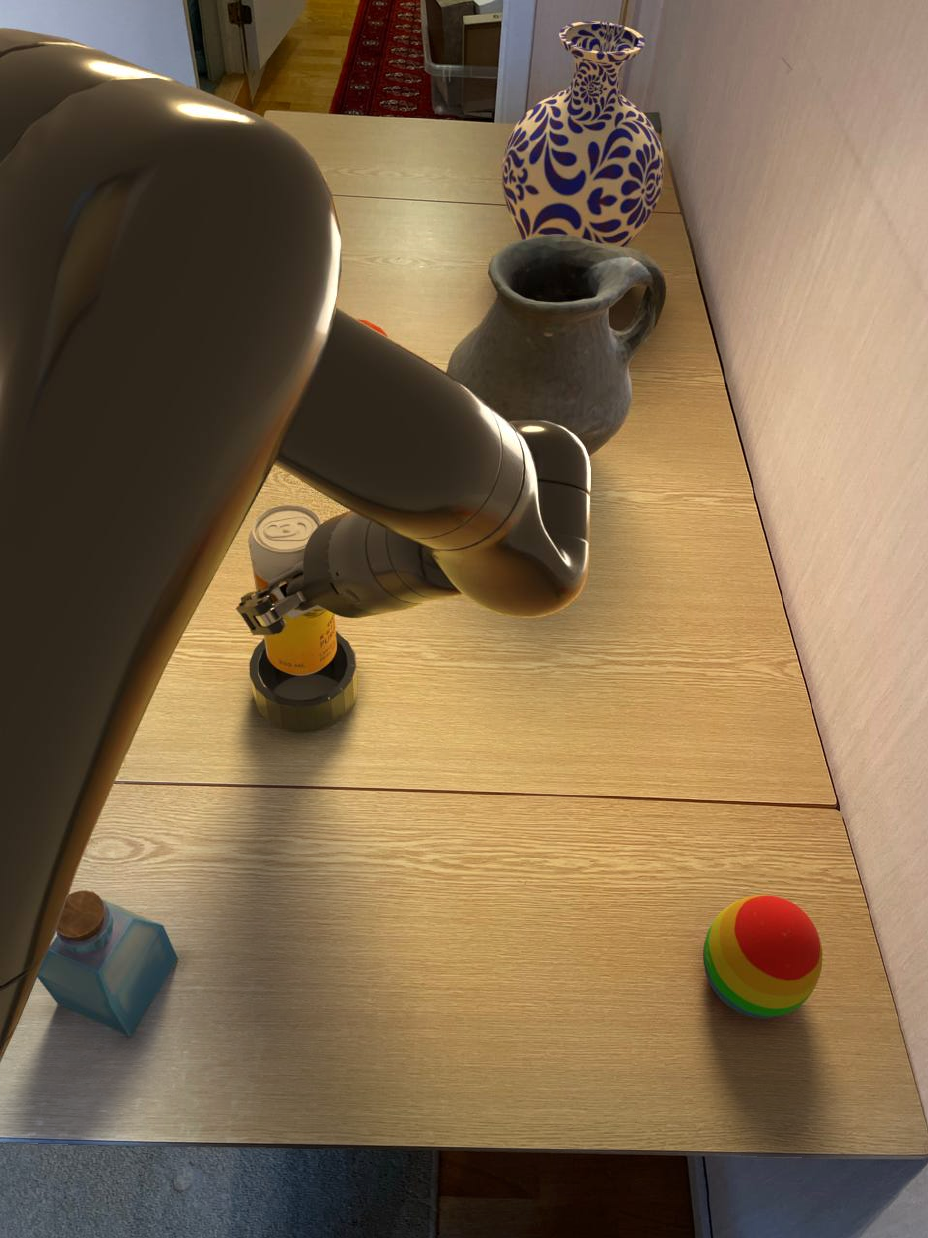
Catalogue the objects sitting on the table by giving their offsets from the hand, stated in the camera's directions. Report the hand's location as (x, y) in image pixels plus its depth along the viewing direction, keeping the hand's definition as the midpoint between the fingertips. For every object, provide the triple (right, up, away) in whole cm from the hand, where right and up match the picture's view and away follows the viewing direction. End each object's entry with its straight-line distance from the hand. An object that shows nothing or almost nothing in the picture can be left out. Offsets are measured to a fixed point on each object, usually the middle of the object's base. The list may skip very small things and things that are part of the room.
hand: (281, 585), depth 81 cm
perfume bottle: (-10, -30, -8) cm, 33 cm away
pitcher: (+23, +16, +33) cm, 44 cm away
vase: (+30, +48, +60) cm, 83 cm away
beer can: (+1, -6, +5) cm, 8 cm away
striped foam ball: (+37, -30, -6) cm, 48 cm away
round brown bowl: (+1, -9, +9) cm, 13 cm away
